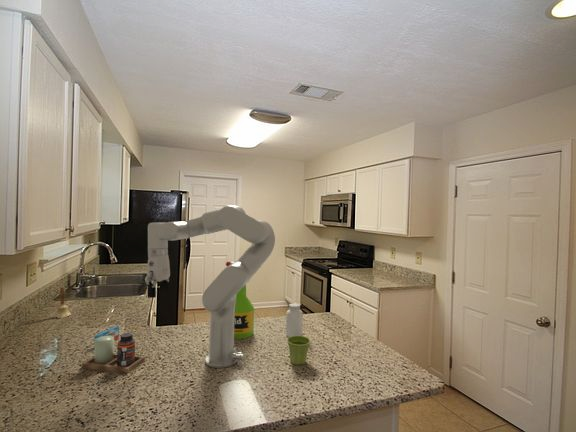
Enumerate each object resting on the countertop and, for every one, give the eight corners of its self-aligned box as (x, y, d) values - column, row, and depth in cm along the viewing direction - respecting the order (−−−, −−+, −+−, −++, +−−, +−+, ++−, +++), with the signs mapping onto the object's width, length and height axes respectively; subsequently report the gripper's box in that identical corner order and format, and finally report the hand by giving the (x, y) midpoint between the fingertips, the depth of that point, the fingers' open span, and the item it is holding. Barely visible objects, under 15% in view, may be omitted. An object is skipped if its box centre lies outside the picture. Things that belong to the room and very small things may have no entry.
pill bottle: (284, 337, 149) (284, 306, 149) (288, 331, 157) (288, 301, 157) (300, 339, 147) (301, 307, 147) (303, 333, 155) (304, 303, 155)
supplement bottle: (127, 369, 113) (127, 338, 113) (112, 367, 115) (113, 336, 115) (138, 362, 119) (138, 332, 119) (124, 360, 120) (125, 331, 120)
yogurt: (116, 339, 143) (116, 325, 143) (118, 339, 143) (119, 326, 143) (94, 350, 132) (94, 335, 132) (97, 350, 131) (97, 335, 131)
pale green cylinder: (117, 359, 121) (117, 336, 121) (104, 367, 115) (105, 343, 115) (102, 358, 122) (103, 335, 122) (89, 365, 116) (90, 341, 116)
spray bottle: (223, 326, 162) (224, 259, 163) (256, 329, 159) (258, 261, 159) (212, 336, 149) (213, 263, 149) (248, 339, 146) (250, 264, 146)
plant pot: (314, 360, 126) (314, 338, 126) (303, 369, 118) (303, 346, 118) (293, 354, 131) (294, 333, 131) (282, 363, 123) (282, 341, 123)
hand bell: (54, 319, 168) (54, 290, 168) (52, 315, 174) (53, 287, 174) (72, 316, 174) (73, 287, 174) (70, 313, 180) (70, 285, 180)
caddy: (145, 363, 121) (145, 356, 121) (127, 375, 111) (127, 368, 111) (102, 358, 124) (102, 351, 124) (81, 370, 114) (81, 363, 114)
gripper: (154, 255, 118) (155, 300, 118) (176, 250, 136) (177, 289, 135) (136, 255, 119) (137, 299, 119) (160, 250, 137) (161, 289, 136)
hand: (158, 294), depth 127 cm, fingers open, 9 cm apart
